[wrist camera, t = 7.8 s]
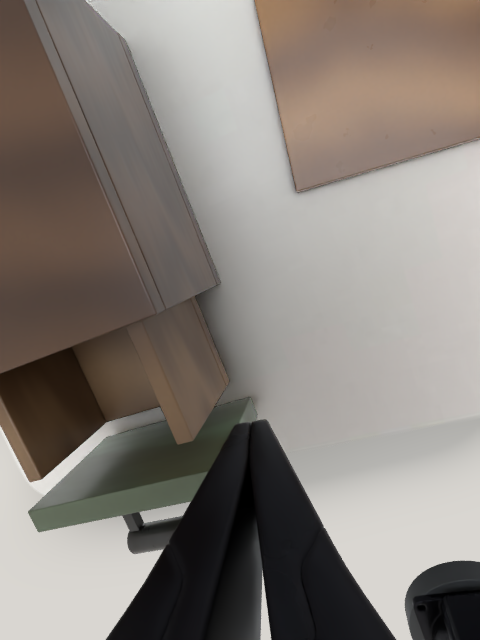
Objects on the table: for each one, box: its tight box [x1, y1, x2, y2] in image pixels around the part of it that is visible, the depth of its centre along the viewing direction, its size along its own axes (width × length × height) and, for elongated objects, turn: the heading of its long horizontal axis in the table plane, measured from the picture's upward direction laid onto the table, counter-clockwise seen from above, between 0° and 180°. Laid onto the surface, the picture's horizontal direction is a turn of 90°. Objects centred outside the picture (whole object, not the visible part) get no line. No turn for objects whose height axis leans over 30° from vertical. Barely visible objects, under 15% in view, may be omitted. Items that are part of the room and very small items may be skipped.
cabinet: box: [0, 0, 221, 374], centre depth 17 cm, size 14×12×9 cm
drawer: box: [0, 296, 257, 554], centre depth 19 cm, size 17×10×7 cm, turn 22°
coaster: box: [254, 0, 480, 193], centre depth 16 cm, size 10×10×1 cm
